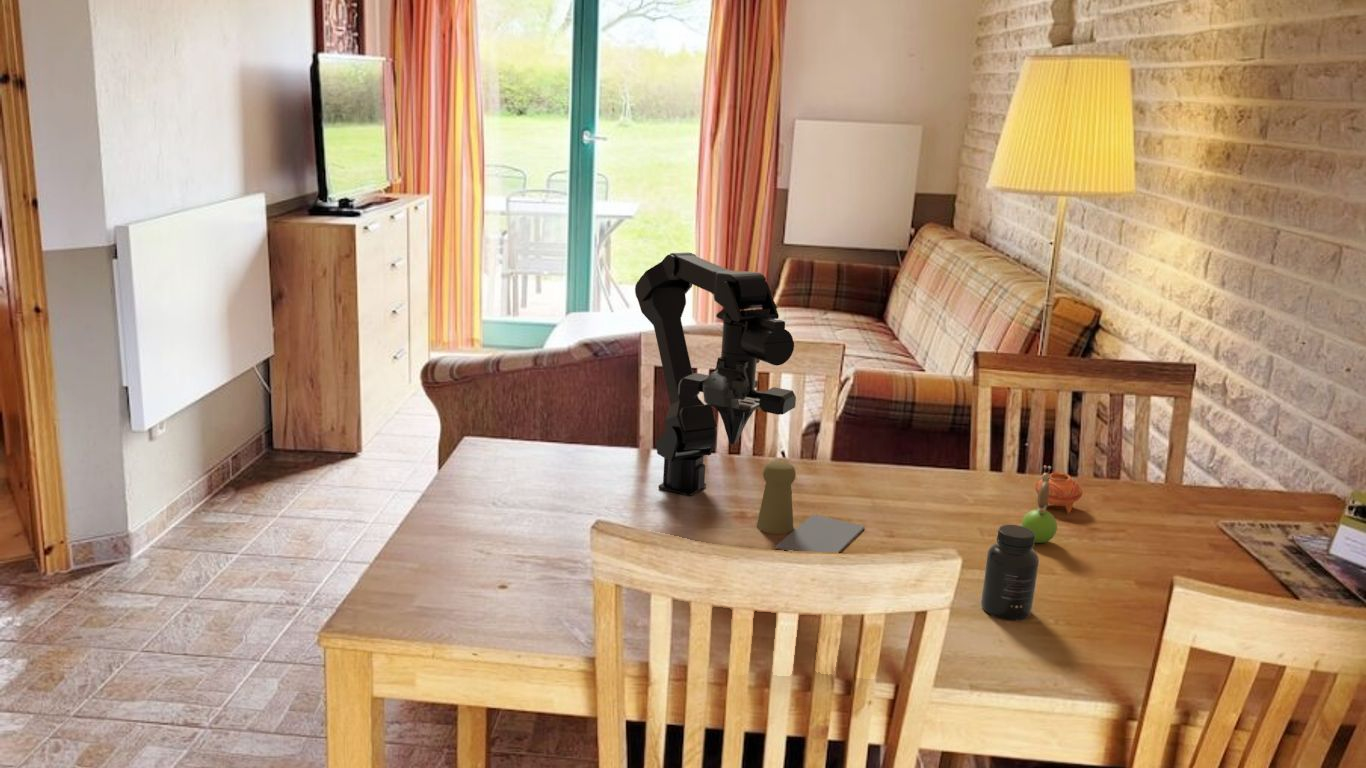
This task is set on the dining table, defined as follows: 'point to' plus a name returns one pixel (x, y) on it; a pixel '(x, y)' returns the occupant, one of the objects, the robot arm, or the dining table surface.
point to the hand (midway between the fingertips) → (733, 443)
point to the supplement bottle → (1010, 574)
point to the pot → (1062, 490)
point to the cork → (777, 499)
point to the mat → (820, 535)
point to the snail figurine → (1041, 514)
